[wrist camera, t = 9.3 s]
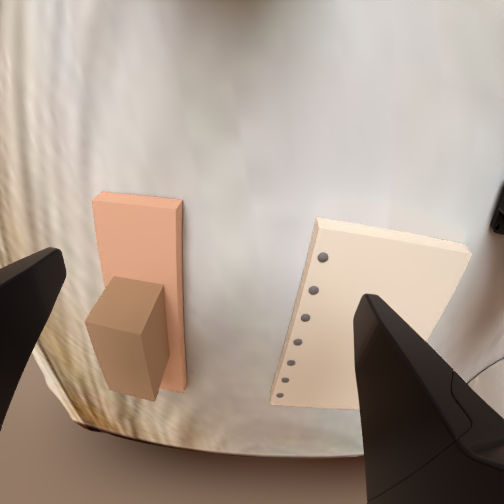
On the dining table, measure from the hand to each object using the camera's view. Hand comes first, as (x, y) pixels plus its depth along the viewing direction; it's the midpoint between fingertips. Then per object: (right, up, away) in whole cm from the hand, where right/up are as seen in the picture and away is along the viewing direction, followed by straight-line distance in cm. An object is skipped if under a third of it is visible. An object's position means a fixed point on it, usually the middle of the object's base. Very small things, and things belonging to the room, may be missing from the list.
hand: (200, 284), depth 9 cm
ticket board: (+10, -6, +17) cm, 21 cm away
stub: (-7, -4, +17) cm, 19 cm away
